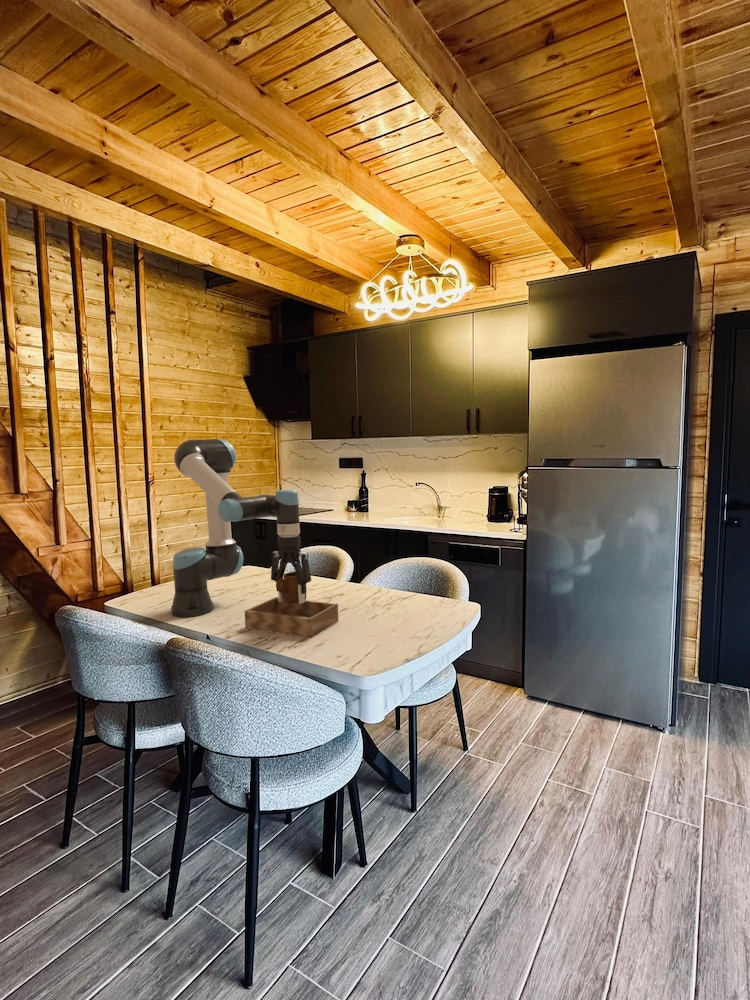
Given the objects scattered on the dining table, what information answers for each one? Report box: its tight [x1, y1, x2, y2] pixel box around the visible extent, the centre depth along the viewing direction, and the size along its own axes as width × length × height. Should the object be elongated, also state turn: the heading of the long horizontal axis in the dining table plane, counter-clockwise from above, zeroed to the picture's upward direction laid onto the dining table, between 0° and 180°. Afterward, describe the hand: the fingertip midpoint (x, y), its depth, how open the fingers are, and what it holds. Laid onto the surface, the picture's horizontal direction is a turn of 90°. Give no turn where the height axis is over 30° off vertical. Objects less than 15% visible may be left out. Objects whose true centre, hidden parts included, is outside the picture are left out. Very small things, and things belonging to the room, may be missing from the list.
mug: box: [275, 571, 307, 603], centre depth 184 cm, size 12×8×9 cm, turn 141°
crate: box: [244, 596, 339, 638], centre depth 185 cm, size 26×18×6 cm
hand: (291, 601), depth 185 cm, fingers closed on mug, 7 cm apart
